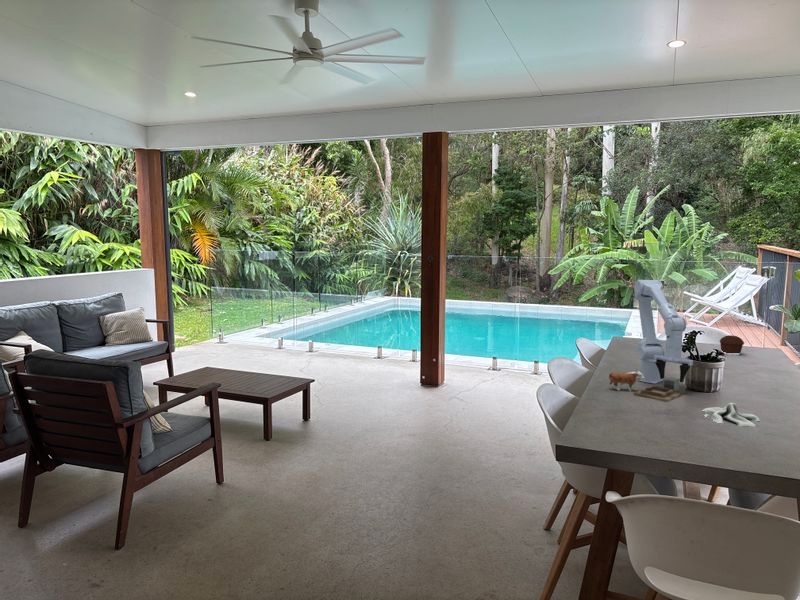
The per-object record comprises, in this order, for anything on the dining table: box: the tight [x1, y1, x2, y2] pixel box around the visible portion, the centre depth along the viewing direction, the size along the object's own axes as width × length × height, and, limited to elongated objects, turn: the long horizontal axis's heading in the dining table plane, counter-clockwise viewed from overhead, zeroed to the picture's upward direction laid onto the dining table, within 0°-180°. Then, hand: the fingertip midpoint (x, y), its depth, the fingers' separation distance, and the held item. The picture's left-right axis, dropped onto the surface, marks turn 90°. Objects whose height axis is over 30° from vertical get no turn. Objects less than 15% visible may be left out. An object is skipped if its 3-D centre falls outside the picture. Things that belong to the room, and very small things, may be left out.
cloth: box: [701, 402, 761, 428], centre depth 197 cm, size 22×19×6 cm
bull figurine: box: [608, 370, 644, 392], centre depth 233 cm, size 4×13×8 cm, turn 79°
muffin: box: [719, 334, 745, 353], centre depth 310 cm, size 12×11×10 cm
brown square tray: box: [633, 385, 682, 403], centre depth 226 cm, size 13×13×2 cm
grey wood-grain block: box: [663, 376, 680, 393], centre depth 233 cm, size 5×4×5 cm
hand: (671, 380), depth 232 cm, fingers open, 7 cm apart
